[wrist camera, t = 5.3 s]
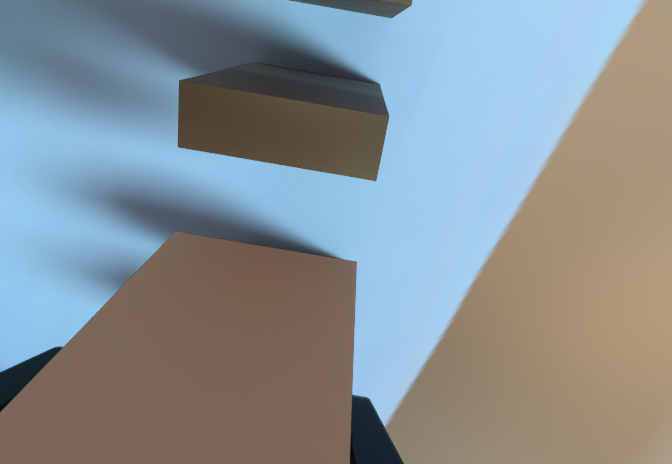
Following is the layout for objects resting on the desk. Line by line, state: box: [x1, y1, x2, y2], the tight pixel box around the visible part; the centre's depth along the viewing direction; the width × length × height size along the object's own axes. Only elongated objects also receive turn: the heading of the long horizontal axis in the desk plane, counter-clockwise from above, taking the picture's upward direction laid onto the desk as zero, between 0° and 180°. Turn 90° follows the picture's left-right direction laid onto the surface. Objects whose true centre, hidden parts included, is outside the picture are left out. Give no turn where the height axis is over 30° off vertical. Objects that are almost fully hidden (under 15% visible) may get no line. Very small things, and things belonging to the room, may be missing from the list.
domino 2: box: [0, 232, 357, 464], centre depth 9 cm, size 2×5×8 cm, turn 81°
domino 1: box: [178, 63, 389, 181], centre depth 15 cm, size 2×5×8 cm, turn 81°
